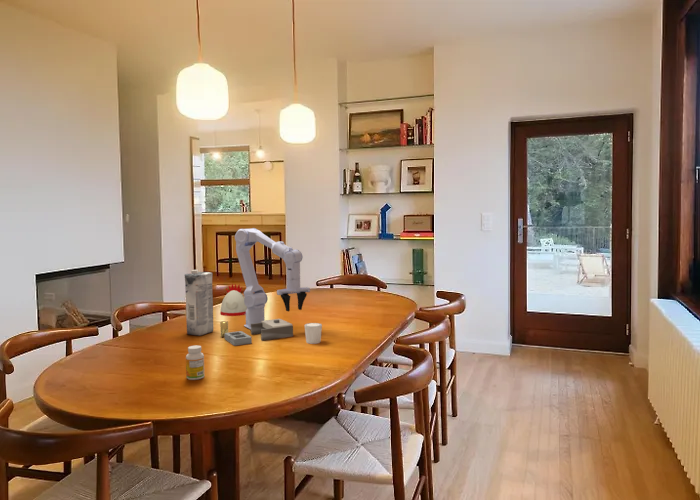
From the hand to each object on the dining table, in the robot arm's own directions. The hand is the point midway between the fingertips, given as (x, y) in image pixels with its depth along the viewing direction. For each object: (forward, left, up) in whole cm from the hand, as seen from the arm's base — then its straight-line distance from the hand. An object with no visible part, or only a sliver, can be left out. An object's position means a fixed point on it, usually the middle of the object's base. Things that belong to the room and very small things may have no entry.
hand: (293, 310), depth 221 cm
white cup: (+19, -1, -10) cm, 21 cm away
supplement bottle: (+38, -52, -10) cm, 65 cm away
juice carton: (-20, -35, -10) cm, 41 cm away
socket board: (+2, -26, -9) cm, 27 cm away
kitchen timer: (-53, -9, -10) cm, 55 cm away
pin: (-9, -28, -9) cm, 30 cm away
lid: (0, -8, -7) cm, 10 cm away
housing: (0, -10, -9) cm, 14 cm away
